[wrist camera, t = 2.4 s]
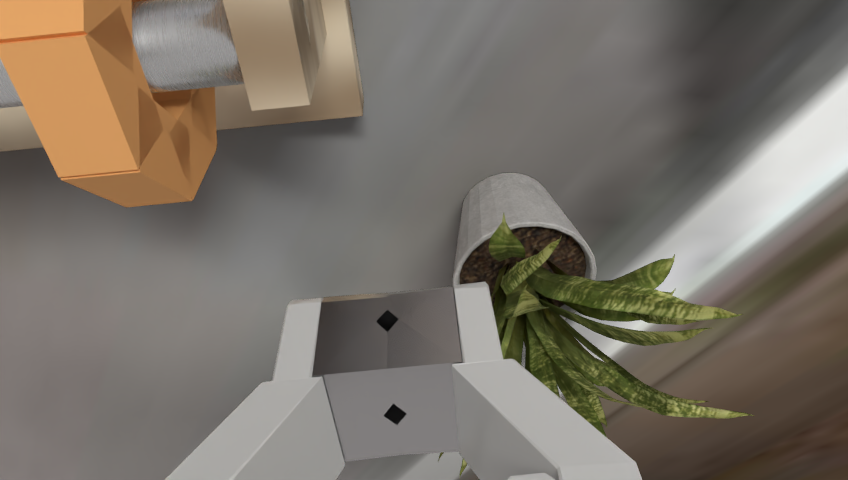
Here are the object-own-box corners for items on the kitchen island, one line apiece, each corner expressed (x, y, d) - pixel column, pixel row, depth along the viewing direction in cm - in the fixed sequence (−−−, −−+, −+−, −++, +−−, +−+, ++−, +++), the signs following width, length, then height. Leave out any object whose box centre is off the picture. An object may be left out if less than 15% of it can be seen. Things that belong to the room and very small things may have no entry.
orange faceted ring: (92, -131, 23) (-68, -81, 15) (158, -138, 23) (33, -92, 15) (178, 122, 29) (97, 256, 21) (231, 117, 29) (170, 249, 21)
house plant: (553, 342, 42) (629, 596, 29) (354, 292, 39) (337, 553, 26) (674, 164, 35) (850, 399, 22) (439, 82, 31) (478, 303, 18)
